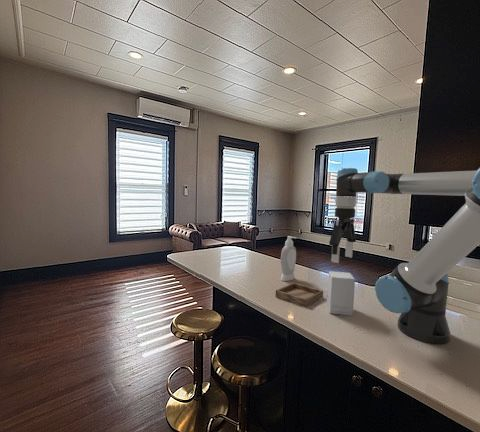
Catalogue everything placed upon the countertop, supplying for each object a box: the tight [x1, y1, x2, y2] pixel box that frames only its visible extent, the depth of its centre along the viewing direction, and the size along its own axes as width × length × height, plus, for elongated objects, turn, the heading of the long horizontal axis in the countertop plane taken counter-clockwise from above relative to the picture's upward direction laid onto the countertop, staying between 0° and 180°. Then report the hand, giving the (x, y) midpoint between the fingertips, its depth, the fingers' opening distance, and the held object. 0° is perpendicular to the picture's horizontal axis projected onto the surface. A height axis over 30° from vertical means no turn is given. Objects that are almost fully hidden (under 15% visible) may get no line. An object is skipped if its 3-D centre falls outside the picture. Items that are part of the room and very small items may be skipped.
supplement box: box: [326, 271, 356, 317], centre depth 108 cm, size 9×9×15 cm
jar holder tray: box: [275, 282, 324, 308], centre depth 122 cm, size 16×16×3 cm
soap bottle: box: [280, 235, 298, 282], centre depth 145 cm, size 13×8×24 cm, turn 130°
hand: (342, 259), depth 107 cm, fingers open, 13 cm apart
